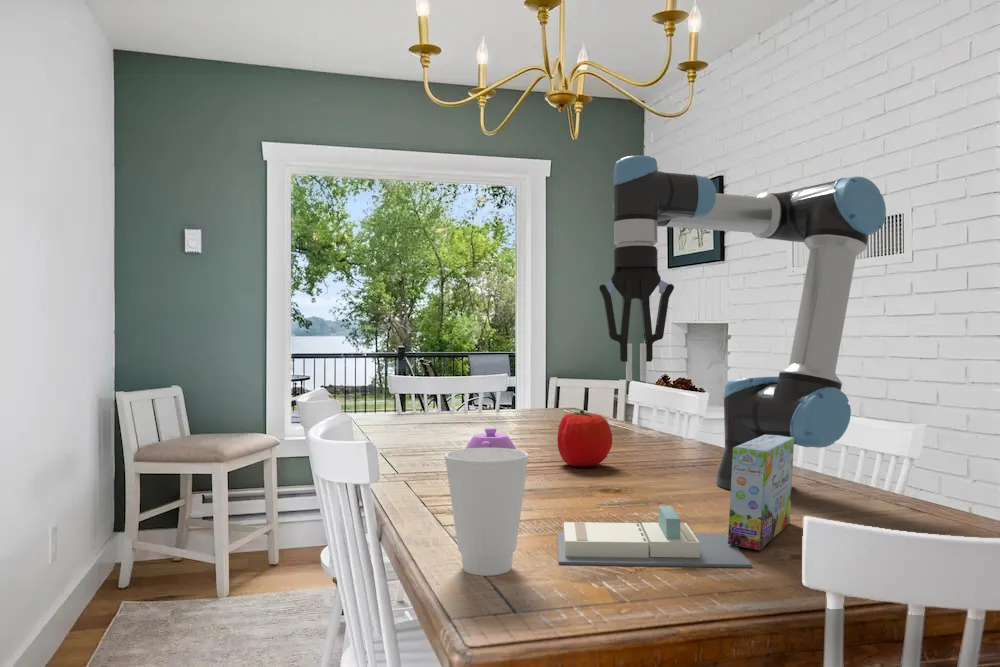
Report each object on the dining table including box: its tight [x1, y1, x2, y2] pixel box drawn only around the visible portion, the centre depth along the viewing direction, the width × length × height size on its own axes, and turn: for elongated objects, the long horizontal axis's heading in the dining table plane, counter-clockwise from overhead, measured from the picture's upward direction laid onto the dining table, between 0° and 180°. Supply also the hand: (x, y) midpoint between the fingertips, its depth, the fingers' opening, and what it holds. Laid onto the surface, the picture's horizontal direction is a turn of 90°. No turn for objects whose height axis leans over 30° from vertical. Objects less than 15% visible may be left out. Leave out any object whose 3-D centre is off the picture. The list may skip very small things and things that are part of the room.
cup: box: [444, 448, 530, 577], centre depth 105 cm, size 12×12×16 cm
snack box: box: [727, 435, 795, 551], centre depth 121 cm, size 21×6×15 cm, turn 148°
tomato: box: [556, 409, 613, 468], centre depth 184 cm, size 16×14×14 cm
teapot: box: [465, 427, 517, 450], centre depth 177 cm, size 14×20×11 cm
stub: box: [640, 505, 700, 558], centre depth 114 cm, size 7×11×5 cm, turn 176°
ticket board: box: [556, 521, 753, 568], centre depth 114 cm, size 27×16×3 cm, turn 86°
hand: (636, 380), depth 132 cm, fingers open, 2 cm apart
